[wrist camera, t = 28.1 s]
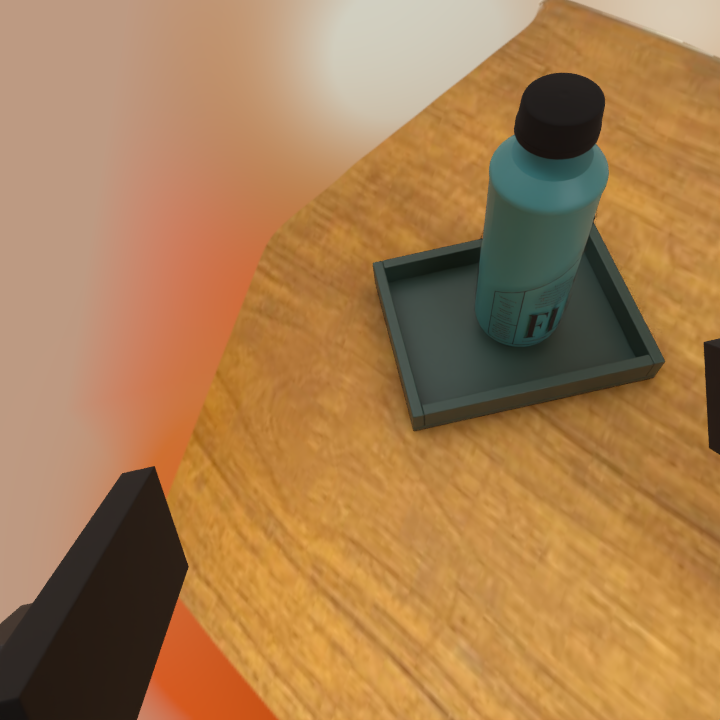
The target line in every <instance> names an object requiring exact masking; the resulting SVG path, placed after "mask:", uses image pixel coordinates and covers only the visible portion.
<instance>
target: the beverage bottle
mask: <svg viewBox="0 0 720 720" xmlns="http://www.w3.org/2000/svg"><path fill="white" fill-rule="evenodd" d="M604 107H605V97H604V94H603V92H602V90H601V89H600V87H599V86H598V85H597V84H596V83H594V82H593V81H592V80H590V79H588V78H586V77H583V76H581V75H577V74H572V73H554V74H549V75H546V76H543V77H540V78H538V79H537V80H535V81H533V82H532V83H531V84H530V85H529V86H528V87H527V88H526V90H525V91H524V93H523V95H522V99H521V103H520V107H519V111H518V113H517V116H516V120H515V127H514V134H515V135H513V136H511V137H510V138H508V139H507V140H505V141H504V142H503V143H502V144H501V145H500V146H499V147H498V148H497V150H496V151H495V152H494V154H493V156H492V159H491V161H490V167H489V187H488V196H487V205H486V215H485V224H484V233H482V234H483V240H482V245H481V246H480V249H481V253H480V256H479V260H480V262H479V265H478V266H479V267H478V270H479V272H478V273H476V274H478V277H477V287H476V290H475V288H474V294H475V291H476V297H475V304H474V305H475V306H474V309H475V313H476V317H477V320H478V322H479V324H480V326H481V328H482V329H483V330H484V332H485V333H486V334H487V335H488V336H490V337H491V338H492V339H494V340H496V341H497V342H500V343H502V344H505V345H509V346H515V347H526V346H531V345H535V344H538V343H540V342H542V341H543V340H545V339H547V337H550V335H551V334H552V333H553V331H555V330H556V327H557V326H558V324H559V322H560V319H561V316H562V313H563V310H564V307H565V308H566V309H567V306H568V304H567V306H565V305H566V301H567V299H568V295H569V292H570V291H571V290H572V289H571V287H572V284H575V283H573V282H574V281H575V279H576V278H575V276H576V272H577V269H578V266H579V263H580V260H581V257H582V254H583V253H584V252H583V251H584V250H585V249H584V248H585V245H586V242H587V239H588V236H589V235H590V234H589V233H590V232H591V231H590V230H591V229H592V225H593V222H594V219H595V218H594V217H595V213H596V210H597V207H598V204H599V201H600V198H601V195H602V193H603V191H604V189H605V187H606V184H607V181H608V175H609V170H608V163H607V160H606V158H605V155H604V154H603V152H602V151H601V149H600V148H599V147H598V146H597V145H596V142H597V140H598V138H599V134H600V131H601V127H602V117H603V112H604ZM596 217H597V214H596ZM481 239H482V236H481ZM590 239H591V238H590ZM589 241H590V240H589ZM588 243H589V242H588ZM588 243H587V245H588ZM479 244H480V243H479ZM586 247H587V246H586ZM587 248H588V247H587ZM476 271H477V269H476ZM475 282H476V281H475ZM475 285H476V284H475ZM570 289H571V290H570ZM571 294H572V293H571ZM569 297H571V296H569ZM569 300H570V299H569ZM473 301H474V300H473ZM568 303H569V301H568ZM566 309H565V310H566ZM473 311H474V310H473ZM564 312H566V311H564ZM563 315H564V314H563ZM562 317H563V316H562ZM561 320H563V319H561ZM561 323H562V322H561ZM559 325H561V324H559ZM555 332H556V331H555ZM555 332H554V333H555ZM554 333H553V334H554Z"/></svg>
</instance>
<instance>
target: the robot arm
mask: <svg viewBox="0 0 720 720" xmlns="http://www.w3.org/2000/svg"><path fill="white" fill-rule="evenodd" d="M704 359H705V378H706V397H707V416H708V436H709V448H710V449H712V450H713V451H715V452H716V453H718V454H719V455H720V339H715V340H711V341H706V342H704ZM188 567H189V566H188V563H187V561H186V558H185V555H184V552H183V549H182V546H181V543H180V540H179V537H178V534H177V531H176V528H175V525H174V522H173V519H172V516H171V513H170V510H169V507H168V504H167V501H166V498H165V496H164V493H163V490H162V487H161V484H160V481H159V478H158V475H157V472H156V469H155V466H153V467H149V468H144V469H140V470H135V471H131V472H127V473H122V474H121V476H120V477H119V479H118V480H117V482H116V483H115V485H114V486H113V487H112V489H111V490H110V492H109V493H108V495H107V496H106V498H105V499H104V500H103V502H102V503H101V505H100V507H99V508H98V509H97V511H96V512H95V514H94V515H93V516H92V518H91V520H90V521H89V522H88V524H87V525H86V527H85V528H84V529H83V531H82V532H81V534H80V535H79V537H78V538H77V540H76V541H75V543H74V544H73V546H72V547H71V548H70V550H69V551H68V553H67V554H66V556H65V557H64V559H63V560H62V561H61V563H60V564H59V566H58V567H57V569H56V570H55V572H54V573H53V575H52V576H51V578H50V579H49V580H48V582H47V583H46V585H45V586H44V588H43V589H42V591H41V592H40V594H39V595H38V596H37V598H36V599H35V601H34V602H33V603H31V604H27V605H22V606H20V607H19V608H18V609H17V610H16V611H15V612H13V613H12V614H11V615H10V616H9V617H8V618H7V619H5V620H4V621H3V622H2V623H1V624H0V720H137V718H138V715H139V712H140V708H141V706H142V703H143V700H144V697H145V694H146V691H147V688H148V685H149V682H150V679H151V676H152V673H153V671H154V668H155V664H156V662H157V659H158V656H159V653H160V649H161V647H162V644H163V641H164V637H165V635H166V632H167V629H168V626H169V623H170V620H171V617H172V614H173V611H174V608H175V605H176V602H177V599H178V597H179V594H180V591H181V588H182V585H183V582H184V579H185V576H186V573H187V570H188Z"/></svg>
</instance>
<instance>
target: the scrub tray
mask: <svg viewBox="0 0 720 720" xmlns="http://www.w3.org/2000/svg"><path fill="white" fill-rule="evenodd" d="M590 231H591V232H590V233H589V234H590V235H589V236H588V239H587V242H586V245H585V248H584V249H585V250H584V251H583V252H584V253H583V254H582V257H581V260H580V263H579V266H578V269H577V272H576V276H575V278H576V279H575V281H574V282H573V283H575V284H572V287H571V289H572V290H571V289H570V290H571V291H570V292H569V295H568V299H567V301H566V305H565V306H567V304H568V306H567V309H566V308H565V307H564V310H563V313H562V316H563V317H562V316H561V319H563V320H561V319H560V322H559V324H561V325H559V324H558V326H557V327H556V330H555V331H556V332H555V331H553V333H554V332H555V333H554V334H553V333H552V334H551V335H550V337H547V339H545V340H543V341H542V342H540V343H538V344H535V345H531V346H526V347H515V346H509V345H505V344H502V343H500V342H497V341H496V340H494V339H492V338H491V337H490V336H488V335H487V334H486V333H485V332H484V330H483V329H482V328H481V326H480V324H479V322H478V320H477V317H476V313H475V309H474V306H475V305H474V304H475V297H476V291H475V294H474V288H475V290H476V287H477V277H478V274H476V273H478V272H479V270H478V267H479V266H478V265H479V262H480V260H479V256H480V253H481V249H480V246H481V245H482V240H483V239H479V240H474V241H470V242H465V243H461V244H456V245H452V246H447V247H442V248H438V249H433V250H429V251H424V252H420V253H415V254H411V255H406V256H402V257H397V258H393V259H388V260H384V261H383V262H382V261H379V262H375V263H373V271H374V278H375V284H376V288H377V291H378V295H379V299H380V303H381V307H382V311H383V315H384V319H385V322H386V326H387V330H388V334H389V338H390V342H391V346H392V350H393V353H394V357H395V361H396V365H397V369H398V373H399V377H400V380H401V384H402V388H403V392H404V396H405V400H406V404H407V408H408V411H409V415H410V419H411V423H412V427H413V431H417V430H421V429H426V428H430V427H435V426H439V425H444V424H448V423H453V422H457V421H462V420H466V419H471V418H475V417H480V416H484V415H489V414H493V413H498V412H502V411H507V410H511V409H516V408H520V407H525V406H529V405H534V404H538V403H543V402H547V401H552V400H556V399H561V398H565V397H569V396H574V395H578V394H583V393H587V392H592V391H596V390H601V389H605V388H610V387H614V386H619V385H623V384H628V383H632V382H637V381H641V380H646V379H650V378H654V377H655V375H656V374H657V372H658V371H659V369H660V368H661V367H662V365H663V364H664V363H665V360H664V358H663V356H662V354H661V352H660V350H659V348H658V346H657V344H656V342H655V340H654V338H653V336H652V335H651V333H650V331H649V329H648V327H647V325H646V323H645V321H644V319H643V317H642V315H641V313H640V311H639V309H638V307H637V305H636V304H635V302H634V300H633V298H632V296H631V294H630V292H629V290H628V288H627V286H626V284H625V282H624V280H623V278H622V276H621V274H620V273H619V271H618V269H617V267H616V265H615V263H614V261H613V259H612V257H611V255H610V253H609V251H608V249H607V247H606V245H605V243H604V242H603V240H602V238H601V236H600V234H599V232H598V230H597V228H596V226H595V224H594V222H593V225H592V229H591V230H590ZM590 238H591V239H590ZM589 240H590V241H589ZM588 242H589V243H588ZM479 243H480V244H479ZM587 243H588V245H587ZM586 246H587V247H588V248H587V247H586ZM476 269H477V271H476ZM475 281H476V282H475ZM475 284H476V285H475ZM571 293H572V294H571ZM569 296H571V297H569ZM569 299H570V300H569ZM473 300H474V301H473ZM568 301H569V303H568ZM565 309H566V310H565ZM473 310H474V311H473ZM564 311H566V312H564ZM563 314H564V315H563ZM561 322H562V323H561Z"/></svg>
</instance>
